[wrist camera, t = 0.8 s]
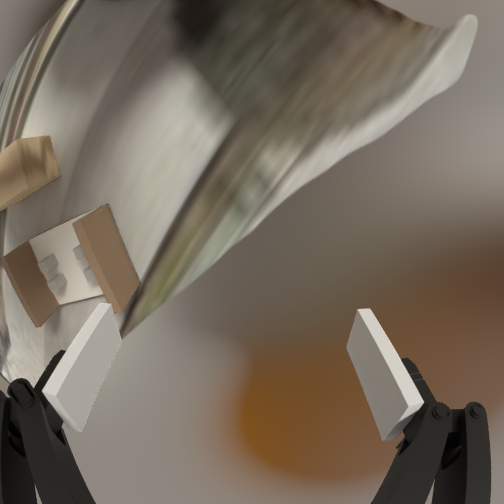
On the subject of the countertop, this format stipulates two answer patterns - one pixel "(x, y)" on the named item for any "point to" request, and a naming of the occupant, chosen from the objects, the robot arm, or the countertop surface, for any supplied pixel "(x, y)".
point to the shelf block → (26, 169)
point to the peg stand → (72, 266)
